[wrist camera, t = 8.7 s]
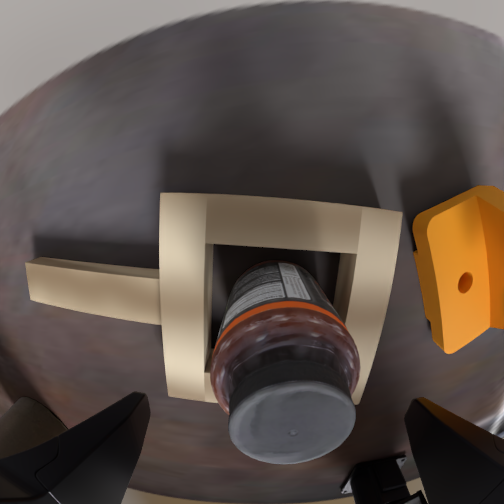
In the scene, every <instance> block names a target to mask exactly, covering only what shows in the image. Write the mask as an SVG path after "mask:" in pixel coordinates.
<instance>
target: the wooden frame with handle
mask: <svg viewBox="0 0 504 504" xmlns="http://www.w3.org/2000/svg"><path fill="white" fill-rule="evenodd" d="M402 213H403V212H398V211H392V210H386V209H380V208H372V207H364V206H356V205H348V204H339V203H329V202H320V201H309V200H298V199H287V198H274V197H260V196H245V195H228V194H206V193H177V192H175V193H160V223H159V269H150V268H139V267H129V266H119V265H109V264H99V263H90V262H81V261H72V260H63V259H55V258H46V257H39V258H36V259H34V260H31V261H28V262H26V263H25V264H26V272H27V279H28V286H29V292H30V298H31V300H33V301H37V302H41V303H45V304H49V305H54V306H58V307H63V308H67V309H72V310H76V311H81V312H86V313H91V314H96V315H102V316H107V317H113V318H119V319H124V320H131V321H137V322H143V323H150V324H157V325H162V336H163V349H164V360H165V370H166V379H167V388H168V396H171V397H177V398H184V399H191V400H198V401H206V402H214V403H218V401H217V399H216V398H215V395H214V393H213V390H212V386H211V381H210V368H211V361H212V356H213V353H214V349H212V348H211V318H212V273H213V245H214V244H225V245H240V246H254V247H269V248H283V249H297V250H311V251H325V252H339V253H341V254H340V262H339V269H338V276H337V283H336V290H335V296H334V302H333V308H334V309H335V311H336V312H337V313H338V315H339V317H340V318H341V320H342V322H343V323H344V324H345V326H346V328H347V330H348V332H349V333H350V335H351V336H352V338H353V339H354V342H355V345H356V346H357V350H358V353H359V358H360V367H361V368H360V377H359V381H358V384H357V386H356V389H355V391H354V392H353V394H352V397H351V398H352V401H353V403H354V405H355V404H359V402H360V400H361V397H362V394H363V391H364V388H365V385H366V382H367V379H368V376H369V373H370V370H371V367H372V363H373V360H374V357H375V353H376V350H377V346H378V343H379V339H380V335H381V331H382V327H383V323H384V319H385V315H386V311H387V306H388V302H389V297H390V292H391V287H392V282H393V276H394V271H395V265H396V259H397V253H398V246H399V238H400V231H401V222H402Z"/></svg>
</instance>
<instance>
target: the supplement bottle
mask: <svg viewBox="0 0 504 504" xmlns="http://www.w3.org/2000/svg"><path fill="white" fill-rule="evenodd" d="M360 368H361V367H360V358H359V353H358V350H357V346H356V345H355V342H354V339H353V338H352V336H351V335H350V333H349V332H348V330H347V328H346V326H345V324H344V323H343V322H342V320H341V318H340V317H339V315H338V313H337V312H336V311H335V309H334V308H333V306H332V305H331V303H330V301H329V300H328V298H327V297H326V295H325V294H324V292H323V291H322V289H321V287H320V286H319V284H318V283H317V282H316V280H315V279H314V278H313V276H312V275H311V274H310V273H308V272H307V271H306V270H305V269H304V268H302V267H301V266H299V265H297V264H295V263H292V262H288V261H282V260H271V261H265V262H262V263H259V264H256V265H254V266H252V267H251V268H249V269H248V270H247V271H245V272H244V273H243V274H242V275H241V276H240V277H239V278H238V279H237V281H236V282H235V285H234V286H233V289H232V291H231V293H230V296H229V299H228V303H227V306H226V310H225V313H224V317H223V320H222V323H221V327H220V330H219V334H218V338H217V341H216V345H215V349H214V353H213V356H212V361H211V368H210V381H211V386H212V390H213V393H214V395H215V398H216V399H217V401H218V403H219V405H220V406H221V407H222V408H223V409H224V411H225V412H226V413H227V414H228V415H229V422H228V431H229V434H230V438H231V440H232V442H233V443H234V444H235V446H236V447H237V448H238V449H239V450H240V451H241V452H243V453H244V454H246V455H248V456H250V457H251V458H255V459H257V460H259V461H264V462H268V463H273V464H295V463H300V462H305V461H309V460H313V459H315V458H319V457H321V456H323V455H325V454H327V453H329V452H331V451H332V450H334V449H336V448H337V447H338V446H339V445H340V444H342V443H343V442H344V440H345V439H346V438H347V437H348V436H349V434H350V432H351V431H352V429H353V427H354V424H355V420H356V411H355V406H354V403H353V401H352V398H351V397H352V394H353V392H354V391H355V389H356V386H357V384H358V381H359V377H360Z"/></svg>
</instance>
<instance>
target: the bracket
mask: <svg viewBox="0 0 504 504" xmlns="http://www.w3.org/2000/svg"><path fill="white" fill-rule="evenodd" d="M413 234H414V238H415V242H416V246H417V250H416V251H414V252H413V254H414V258H415V263H416V267H417V272H418V276H419V281H420V287H421V292H422V298H423V303H424V310H425V316H426V318H427V319H428V320H429V321H430V322H431V330H432V338H433V341H434V342H435V343H436V344H437V345H438V346H439V347H440V348H441V349H442V350H443V351H445V352H446V353H447V354H452V353H454V352H455V351H457V350H459V349H460V348H461V347H463V346H464V345H466V344H467V343H469V342H470V341H472V340H473V339H474V338H476V337H477V336H479V335H480V334H481V333H483V332H484V331H485V330H487V329H488V328H489V327H493V328H499V329H504V192H503V191H502V190H500V189H498V188H496V187H495V186H481V185H478V186H476V187H474V188H472V189H470V190H468V191H465V192H463V193H461V194H459V195H457V196H455V197H453V198H451V199H449V200H447V201H445V202H443V203H441V204H438V205H436V206H434V207H432V208H430V209H428V210H426V211H424V212H421V213H420V214H418V215H417V216H416V218H415V219H414V222H413Z"/></svg>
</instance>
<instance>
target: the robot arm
mask: <svg viewBox="0 0 504 504" xmlns="http://www.w3.org/2000/svg"><path fill="white" fill-rule="evenodd" d="M149 419H150V407H149V402H148V397H147V395H146V394H145V393H141V392H137V391H135V392H132V393H131V394H129V395H127V396H126V397H124V398H122V399H121V400H119V401H117V402H116V403H114V404H112V405H111V406H109V407H107V408H106V409H104V410H102V411H101V412H99V413H97V414H95V415H94V416H92V417H90V418H88V419H87V420H85V421H83V422H81V423H80V424H78V425H76V426H74V427H72V428H70V429H69V430H67V431H65V432H63V433H61V434H59V435H58V436H56V437H54V438H52V439H50V440H48V441H46V442H44V443H42V444H40V445H38V446H35V447H33V448H30V449H28V450H25V451H22V452H19V453H17V454H14V455H11V456H8V457H5V458H1V459H0V504H121V502H122V499H123V497H124V494H125V492H126V489H127V487H128V484H129V481H130V479H131V476H132V474H133V471H134V469H135V466H136V464H137V461H138V459H139V456H140V453H141V450H142V446H143V442H144V438H145V434H146V430H147V427H148V423H149ZM404 421H405V425H406V429H407V433H408V437H409V442H410V446H411V450H412V454H413V457H414V460H415V463H416V466H417V469H418V472H419V475H420V478H421V481H422V484H423V487H424V490H425V494H426V497H427V500H428V503H427V501H426V499H425V497H424V495H423V493H422V491H421V490H419V491H417V492H416V493H415V494H413V495H410V493H409V491H408V488H407V486H406V481H405V479H404V477H403V474H402V472H401V470H400V468H401V467H402V465H403V464H404V462H405V461H406V459H407V457H406V455H402V456H398V457H394V458H389V459H384V460H379V461H374V462H368V463H362V464H358V465H356V466H355V467H354V469H353V471H352V472H351V474H350V476H349V478H348V479H347V481H346V482H345V484H344V486H343V487H342V489H341V493H350V492H352V493H353V497H354V500H355V504H504V439H502V438H500V437H498V436H496V435H494V434H492V433H490V432H488V431H486V430H484V429H482V428H480V427H478V426H476V425H474V424H472V423H470V422H469V421H467V420H465V419H463V418H461V417H459V416H457V415H455V414H453V413H452V412H450V411H448V410H446V409H444V408H442V407H440V406H439V405H437V404H435V403H433V402H431V401H430V400H428V399H426V398H424V397H420V398H415V399H413V400H412V401H411V403H410V405H409V407H408V410H407V412H406V414H405V417H404Z"/></svg>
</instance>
